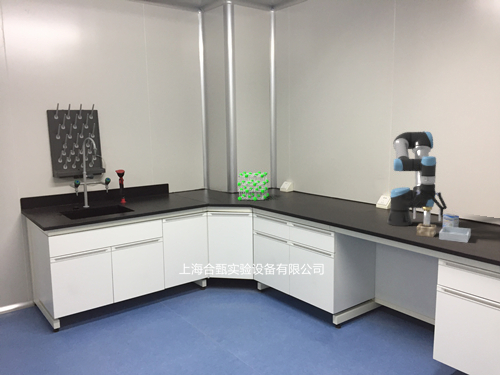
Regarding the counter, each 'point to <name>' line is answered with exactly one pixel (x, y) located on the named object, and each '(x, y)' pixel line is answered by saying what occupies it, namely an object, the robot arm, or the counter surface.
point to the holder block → (426, 230)
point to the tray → (455, 234)
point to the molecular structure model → (254, 183)
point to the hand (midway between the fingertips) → (426, 219)
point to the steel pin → (426, 216)
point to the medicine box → (450, 220)
